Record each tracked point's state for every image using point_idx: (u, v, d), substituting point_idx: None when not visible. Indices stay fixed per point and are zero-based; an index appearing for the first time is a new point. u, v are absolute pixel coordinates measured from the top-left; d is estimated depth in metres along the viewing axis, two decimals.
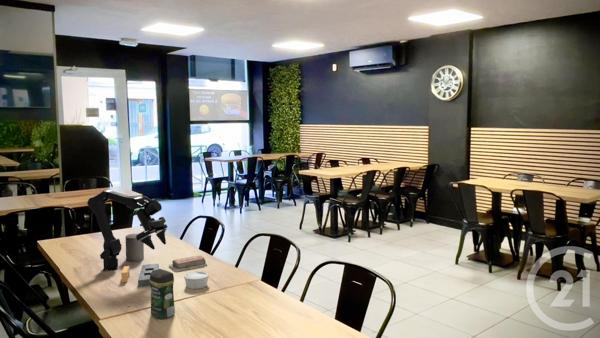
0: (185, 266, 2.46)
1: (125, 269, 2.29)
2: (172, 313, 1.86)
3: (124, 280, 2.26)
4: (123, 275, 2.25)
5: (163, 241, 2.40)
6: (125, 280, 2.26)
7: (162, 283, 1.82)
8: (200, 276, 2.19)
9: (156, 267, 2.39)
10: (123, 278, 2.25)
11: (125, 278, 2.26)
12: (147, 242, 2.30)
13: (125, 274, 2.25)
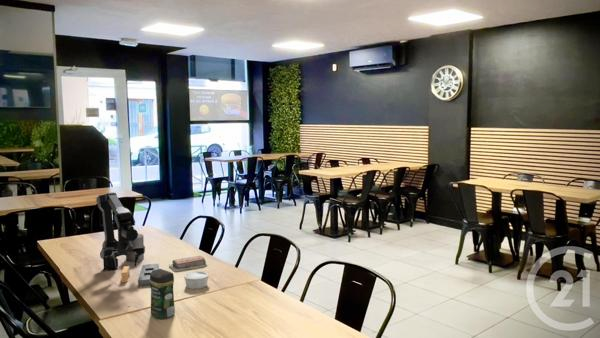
0: (185, 266, 2.45)
1: (125, 269, 2.29)
2: (172, 313, 1.86)
3: (124, 280, 2.26)
4: (123, 275, 2.25)
5: None
6: (125, 280, 2.26)
7: (162, 283, 1.82)
8: (200, 276, 2.19)
9: (156, 267, 2.39)
10: (123, 278, 2.25)
11: (125, 278, 2.26)
12: None
13: (125, 274, 2.25)
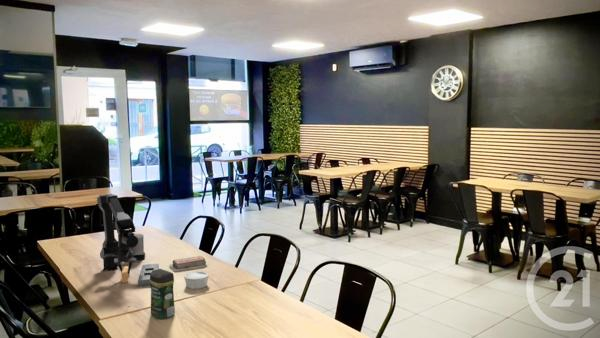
0: (184, 266, 2.45)
1: (125, 269, 2.29)
2: (172, 313, 1.86)
3: (124, 280, 2.26)
4: (123, 275, 2.25)
5: (128, 270, 2.30)
6: (125, 280, 2.26)
7: (162, 283, 1.82)
8: (200, 276, 2.19)
9: (156, 267, 2.39)
10: (123, 278, 2.25)
11: (125, 278, 2.26)
12: None
13: (125, 274, 2.25)
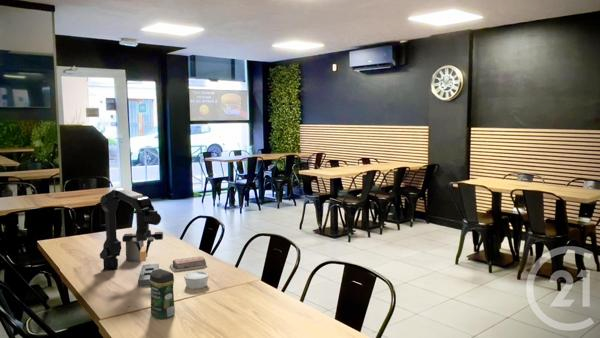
0: (184, 267, 2.45)
1: (143, 249, 2.29)
2: (172, 313, 1.86)
3: (142, 259, 2.26)
4: (141, 254, 2.25)
5: (146, 250, 2.31)
6: (143, 259, 2.26)
7: (162, 283, 1.82)
8: (200, 276, 2.19)
9: (156, 267, 2.39)
10: (141, 257, 2.26)
11: (143, 257, 2.26)
12: None
13: (143, 253, 2.25)
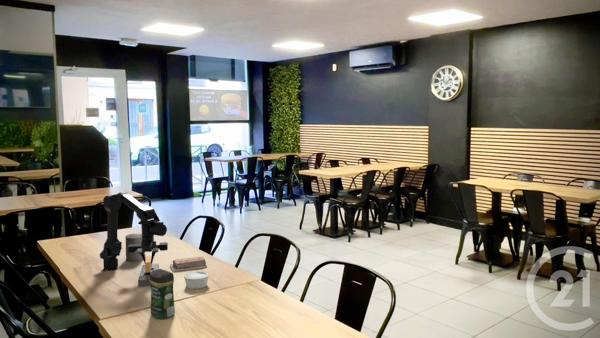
0: (184, 267, 2.45)
1: (148, 259, 2.31)
2: (172, 313, 1.86)
3: (147, 270, 2.28)
4: (146, 265, 2.27)
5: (151, 260, 2.32)
6: (148, 270, 2.28)
7: (162, 283, 1.82)
8: (200, 276, 2.19)
9: (156, 267, 2.39)
10: (146, 268, 2.27)
11: (148, 268, 2.28)
12: None
13: (148, 264, 2.27)
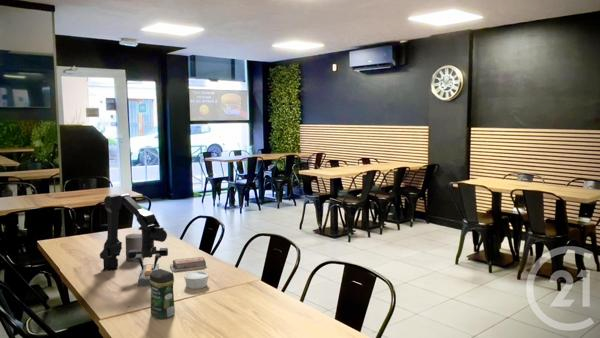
0: (183, 267, 2.44)
1: (148, 268, 2.31)
2: (172, 313, 1.86)
3: None
4: (147, 273, 2.27)
5: (154, 266, 2.33)
6: None
7: (162, 283, 1.82)
8: (200, 276, 2.19)
9: (156, 267, 2.39)
10: None
11: None
12: None
13: (149, 272, 2.27)
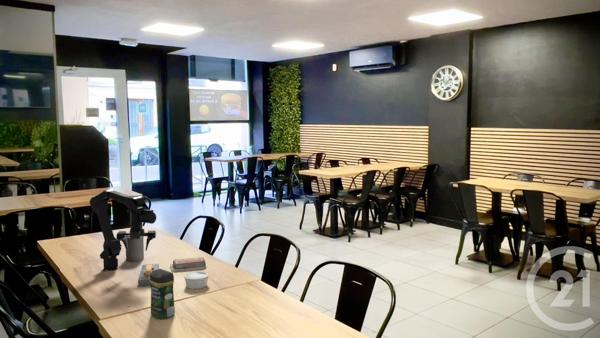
0: (183, 267, 2.44)
1: (148, 268, 2.31)
2: (172, 313, 1.86)
3: None
4: (147, 273, 2.27)
5: None
6: None
7: (162, 283, 1.82)
8: (200, 276, 2.19)
9: (156, 267, 2.39)
10: None
11: None
12: None
13: (149, 272, 2.27)
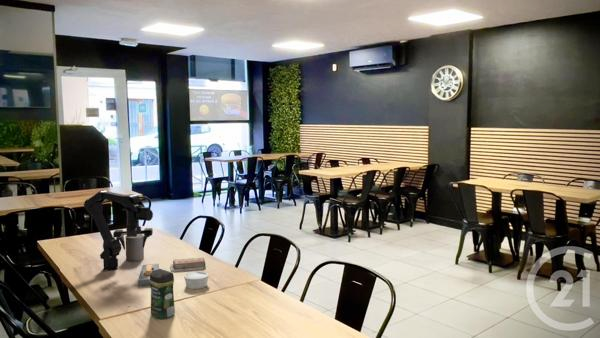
0: (182, 267, 2.44)
1: (148, 268, 2.31)
2: (172, 313, 1.86)
3: None
4: (147, 273, 2.27)
5: None
6: None
7: (162, 283, 1.82)
8: (200, 276, 2.19)
9: (156, 267, 2.39)
10: None
11: None
12: None
13: (149, 272, 2.27)
